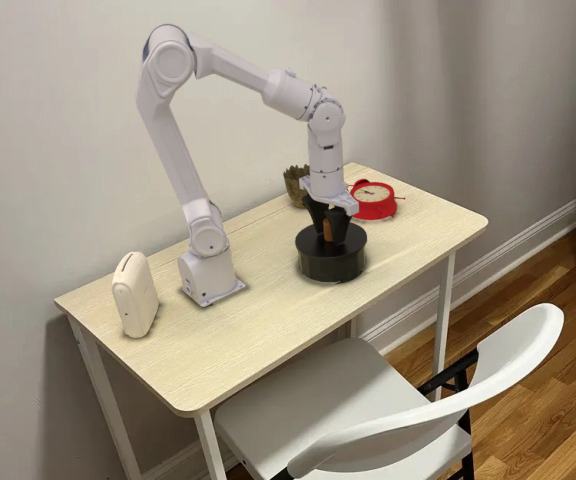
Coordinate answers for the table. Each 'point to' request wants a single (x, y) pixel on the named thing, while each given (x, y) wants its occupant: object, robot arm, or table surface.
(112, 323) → the table surface
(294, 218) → the table surface
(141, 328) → the photo printer
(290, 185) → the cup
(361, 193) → the alarm clock
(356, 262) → the pot
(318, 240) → the lid
